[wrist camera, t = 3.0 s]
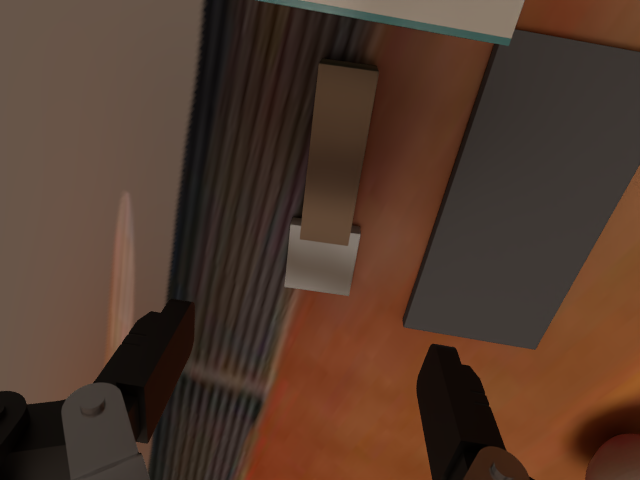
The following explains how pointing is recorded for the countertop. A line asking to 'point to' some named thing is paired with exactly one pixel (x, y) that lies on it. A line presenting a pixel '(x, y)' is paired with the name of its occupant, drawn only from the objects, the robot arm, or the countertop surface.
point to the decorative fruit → (616, 459)
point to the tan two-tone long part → (332, 179)
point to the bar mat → (529, 188)
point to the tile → (428, 15)
